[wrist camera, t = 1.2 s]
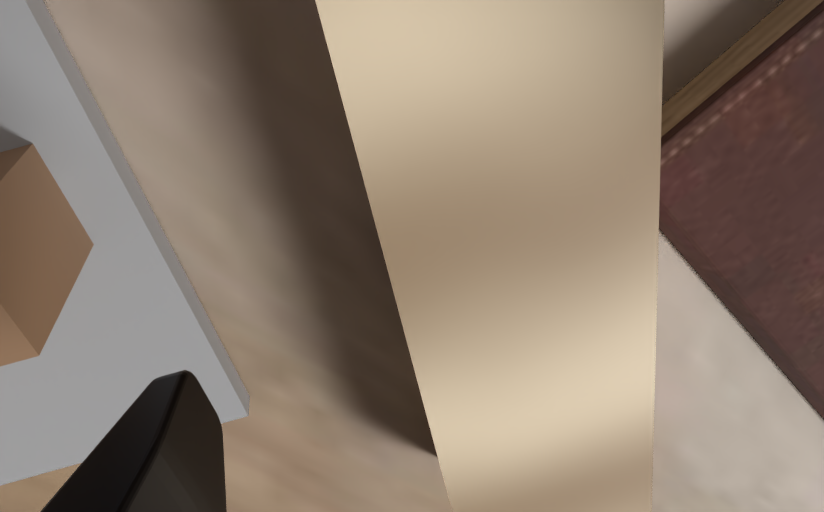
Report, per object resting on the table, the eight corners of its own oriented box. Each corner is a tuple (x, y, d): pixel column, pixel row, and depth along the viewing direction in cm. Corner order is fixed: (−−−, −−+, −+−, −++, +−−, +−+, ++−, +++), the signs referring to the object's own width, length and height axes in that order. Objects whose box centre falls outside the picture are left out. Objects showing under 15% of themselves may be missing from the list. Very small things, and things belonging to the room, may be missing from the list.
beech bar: (581, 412, 17) (650, 545, 14) (439, 449, 17) (474, 593, 14) (510, -644, 7) (690, -1045, 4) (170, -568, 7) (69, -917, 4)
